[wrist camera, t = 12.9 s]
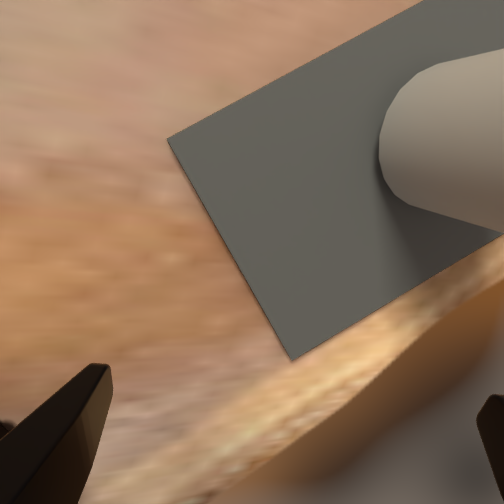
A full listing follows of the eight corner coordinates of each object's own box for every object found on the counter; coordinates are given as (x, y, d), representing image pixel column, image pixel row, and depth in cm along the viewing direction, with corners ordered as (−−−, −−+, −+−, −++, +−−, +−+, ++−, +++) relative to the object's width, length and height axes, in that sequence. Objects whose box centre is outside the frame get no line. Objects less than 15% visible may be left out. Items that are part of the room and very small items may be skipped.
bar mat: (287, 353, 23) (291, 360, 23) (166, 138, 18) (166, 139, 17) (560, 190, 25) (573, 192, 24) (534, -60, 19) (549, -67, 18)
